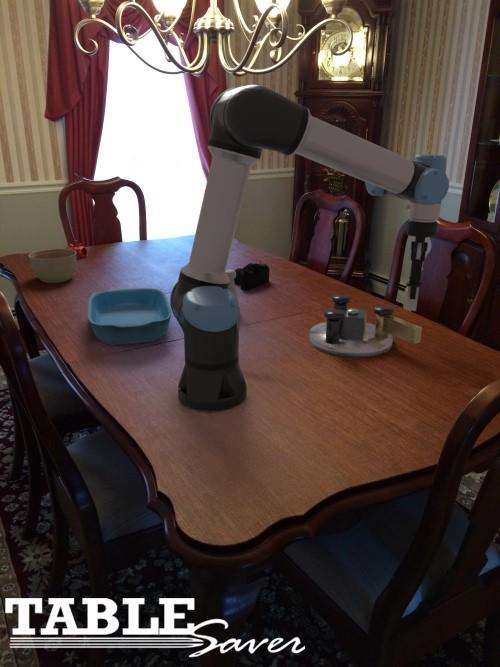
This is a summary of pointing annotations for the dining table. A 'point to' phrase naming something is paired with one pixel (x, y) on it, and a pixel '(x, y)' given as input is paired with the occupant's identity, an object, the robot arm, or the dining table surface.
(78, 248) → the pomegranate
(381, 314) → the brass bar with knob
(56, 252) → the planter bowl
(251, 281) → the film camera
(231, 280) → the salt shaker
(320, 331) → the levelling base
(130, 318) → the casserole dish
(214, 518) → the dining table surface
